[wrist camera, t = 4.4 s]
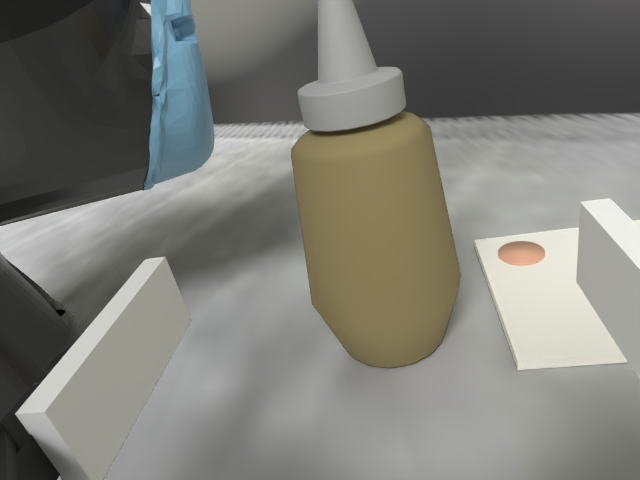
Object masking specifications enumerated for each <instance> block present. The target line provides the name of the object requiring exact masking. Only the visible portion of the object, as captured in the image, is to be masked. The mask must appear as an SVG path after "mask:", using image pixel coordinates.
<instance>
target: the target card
mask: <svg viewBox="0 0 640 480" xmlns="http://www.w3.org/2000/svg"><path fill="white" fill-rule="evenodd" d="M634 222H635V223H636V224H637V225H638V226H639V227H640V220H634ZM578 237H579V227H577V228H569V229H560V230H552V231H544V232H536V233H528V234H520V235H512V236H503V237H495V238H487V239H479V240H474V243H475V249H476V252H477V255H478V258H479V261H480V264H481V267H482V269H483V272H484V275H485V278H486V281H487V284H488V287H489V289H490V292H491V295H492V298H493V301H494V304H495V307H496V309H497V312H498V315H499V318H500V321H501V324H502V327H503V330H504V332H505V335H506V338H507V341H508V344H509V347H510V350H511V352H512V355H513V358H514V361H515V364H516V367H517V370H526V369H540V368H555V367H569V366H584V365H598V364H613V363H627V360H626V359H625V357H624V356H623V354H622V352H621V351H620V349H619V348H618V346H617V345H616V343H615V341H614V340H613V338H612V337H611V335H610V334H609V332H608V331H607V329H606V327H605V326H604V324H603V323H602V321H601V320H600V318H599V316H598V315H597V313H596V312H595V310H594V309H593V307H592V305H591V304H590V302H589V301H588V299H587V298H586V296H585V295H584V293H583V291H582V290H581V288H580V287H579V285H578V284H577V282H576V275H577V256H578Z"/></svg>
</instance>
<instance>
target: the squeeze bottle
mask: <svg viewBox="0 0 640 480" xmlns="http://www.w3.org/2000/svg"><path fill="white" fill-rule="evenodd" d="M298 99H299V103H300V108H301V112H302V116H303V121H304V125H305V127H306V128H308V129H310V130H308V131H307V132H306V133H305V134H304V135H302V136H301V137H300V138H299V139H298V141H297V142H296V143H295V145H294V146H293V148H292V152H291V159H292V166H293V173H294V180H295V187H296V194H297V201H298V208H299V215H300V222H301V229H302V236H303V243H304V250H305V257H306V265H307V272H308V279H309V286H310V293H311V300H312V305H313V306H314V307H315V309H316V310H317V311H318V313H319V314H320V315H321V317H322V318H323V320H324V321H325V322H326V324H327V325H328V326H329V328H330V329H331V330H332V332H333V333H334V335H335V336H336V337H337V339H338V340H339V341H340V343H341V344H342V345H343V347H344V348H345V349H346V350H347V352H348V353H349V354H350V355H351V356H352V358H354V359H356V360H358V361H360V362H362V363H364V364H367V365H369V366H376V367H386V368H393V367H399V366H404V365H410V364H413V363H415V362H417V361H419V360H421V359H423V358H425V357H427V356H429V355H431V354H432V352H433V351H434V350H435V349H436V348H437V347H438V346H439V344H440V343H441V342H442V340H443V337H444V334H445V331H446V327H447V324H448V321H449V318H450V315H451V312H452V309H453V306H454V303H455V299H456V296H457V293H458V288H459V283H460V277H461V273H460V269H459V264H458V259H457V254H456V250H455V245H454V240H453V235H452V230H451V226H450V221H449V216H448V211H447V206H446V202H445V197H444V192H443V187H442V182H441V178H440V173H439V168H438V163H437V158H436V154H435V149H434V144H433V139H432V134H431V130H430V126H429V125H428V124H427V123H426V122H425V121H424V120H422V119H421V118H419V117H417V116H416V115H414V114H413V113H408V112H403V111H402V110H403V108H404V107H405V105H406V101H405V93H404V84H403V77H402V72H401V71H400V70H399V69H398V68H395V67H376V64H375V61H374V58H373V56H372V53H371V50H370V48H369V45H368V42H367V40H366V37H365V34H364V31H363V28H362V26H361V23H360V20H359V17H358V15H357V12H356V9H355V6H354V4H353V1H352V0H318V80H317V81H314V82H312V83H309V84H307V85H305V86H303V87H302V88H300V89H299V90H298Z"/></svg>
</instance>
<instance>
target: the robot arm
mask: <svg viewBox="0 0 640 480" xmlns="http://www.w3.org/2000/svg"><path fill="white" fill-rule="evenodd" d="M213 148H214V128H213V119H212V112H211V106H210V99H209V93H208V88H207V82H206V77H205V71H204V66H203V61H202V56H201V51H200V47H199V42H198V38H197V36H196V34H195V23H194V19H193V14H192V10H191V2H190V0H0V226H2V225H6V224H10V223H14V222H18V221H22V220H26V219H30V218H34V217H37V216H41V215H45V214H49V213H53V212H57V211H61V210H65V209H69V208H73V207H77V206H81V205H84V204H88V203H92V202H96V201H100V200H104V199H108V198H112V197H116V196H120V195H124V194H128V193H131V192H135V191H139V190H143V191H144V190H148V189H151V188H152V187H154V185H155V184H157V183H160V182H163V181H166V180H169V179H172V178H175V177H178V176H181V175H184V174H187V173H190V172H193V171H195V170H197V169H198V168H200V167H201V166H202V165H203V164H204V163H205V162H206V161H207V160H208V159H209V158H210V156H211V154H212V151H213ZM576 282H577V284H578V285H579V287H580V288H581V290H582V291H583V293H584V295H585V296H586V298H587V299H588V301H589V302H590V304H591V305H592V307H593V309H594V310H595V312H596V313H597V315H598V316H599V318H600V320H601V321H602V323H603V324H604V326H605V327H606V329H607V331H608V332H609V334H610V335H611V337H612V338H613V340H614V341H615V343H616V345H617V346H618V348H619V349H620V351H621V352H622V354H623V356H624V357H625V359H626V360H627V362H628V363H629V365H630V367H631V368H632V370H633V371H634V373H635V374H636V376H637V377H638V379H639V381H640V227H639V226H638V225H637V224H636V223H635V222H634V221H633V220H632V219H630V218H629V217H628V216H627V215H626V214H625V213H624V212H623V211H622V210H621V209H620V208H619V207H618V206H617V205H616V204H615V203H614V202H613V201H612V200H611V199H610V198H607V199H600V200H592V201H584V202H580V218H579V237H578V256H577V275H576ZM191 321H192V319H191V317H190V314H189V312H188V310H187V307H186V305H185V303H184V300H183V298H182V295H181V293H180V291H179V288H178V286H177V283H176V281H175V279H174V276H173V274H172V271H171V269H170V267H169V264H168V262H167V260H166V257H158V258H150V259H145V260H144V261H143V262H142V263H141V265H140V266H139V267H138V268H137V269H136V271H135V272H134V273H133V274H132V275H131V277H130V278H129V279H128V280H127V281H126V283H125V284H124V285H123V286H122V287H121V288H120V290H119V291H118V292H117V293H116V294H115V296H114V297H113V298H112V299H111V300H110V302H109V303H108V304H107V305H106V306H105V307H104V309H103V310H102V311H101V312H100V313H99V315H98V316H97V317H96V318H95V319H94V321H93V322H92V323H91V324H90V325H89V327H88V328H87V329H86V330H85V331H84V332H83V333H82V331H81V330H80V328H79V326H78V324H77V322H76V321H75V319H74V317H73V315H72V314H71V313H70V312H69V311H68V310H67V308H65V307H64V306H63V305H62V304H60V303H59V302H57V301H54V300H53V299H52V298H51V297H50V296H49V295H48V294H47V293H46V292H45V291H44V290H43V289H42V288H41V287H40V286H38V285H37V284H36V283H35V282H34V281H33V280H31V279H30V278H29V277H28V276H26V275H25V274H24V273H23V272H22V271H20V270H19V269H18V268H17V267H15V266H14V265H13V264H12V263H10V262H9V261H8V260H7V259H6V258H5V257H4V256H3V255H2V254H1V253H0V480H57V478H58V477H59V476H60V477H61V479H62V480H103V479H104V477H105V475H106V474H107V472H108V470H109V468H110V466H111V465H112V463H113V461H114V459H115V457H116V456H117V454H118V452H119V450H120V448H121V447H122V445H123V443H124V441H125V439H126V438H127V436H128V434H129V432H130V430H131V429H132V427H133V425H134V423H135V421H136V420H137V418H138V416H139V414H140V412H141V411H142V409H143V407H144V405H145V403H146V402H147V400H148V398H149V396H150V394H151V393H152V391H153V389H154V387H155V385H156V384H157V382H158V380H159V378H160V376H161V375H162V373H163V371H164V369H165V367H166V366H167V364H168V362H169V360H170V358H171V357H172V355H173V353H174V351H175V349H176V348H177V346H178V344H179V342H180V340H181V339H182V337H183V335H184V333H185V331H186V330H187V328H188V326H189V324H190V322H191Z"/></svg>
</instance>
